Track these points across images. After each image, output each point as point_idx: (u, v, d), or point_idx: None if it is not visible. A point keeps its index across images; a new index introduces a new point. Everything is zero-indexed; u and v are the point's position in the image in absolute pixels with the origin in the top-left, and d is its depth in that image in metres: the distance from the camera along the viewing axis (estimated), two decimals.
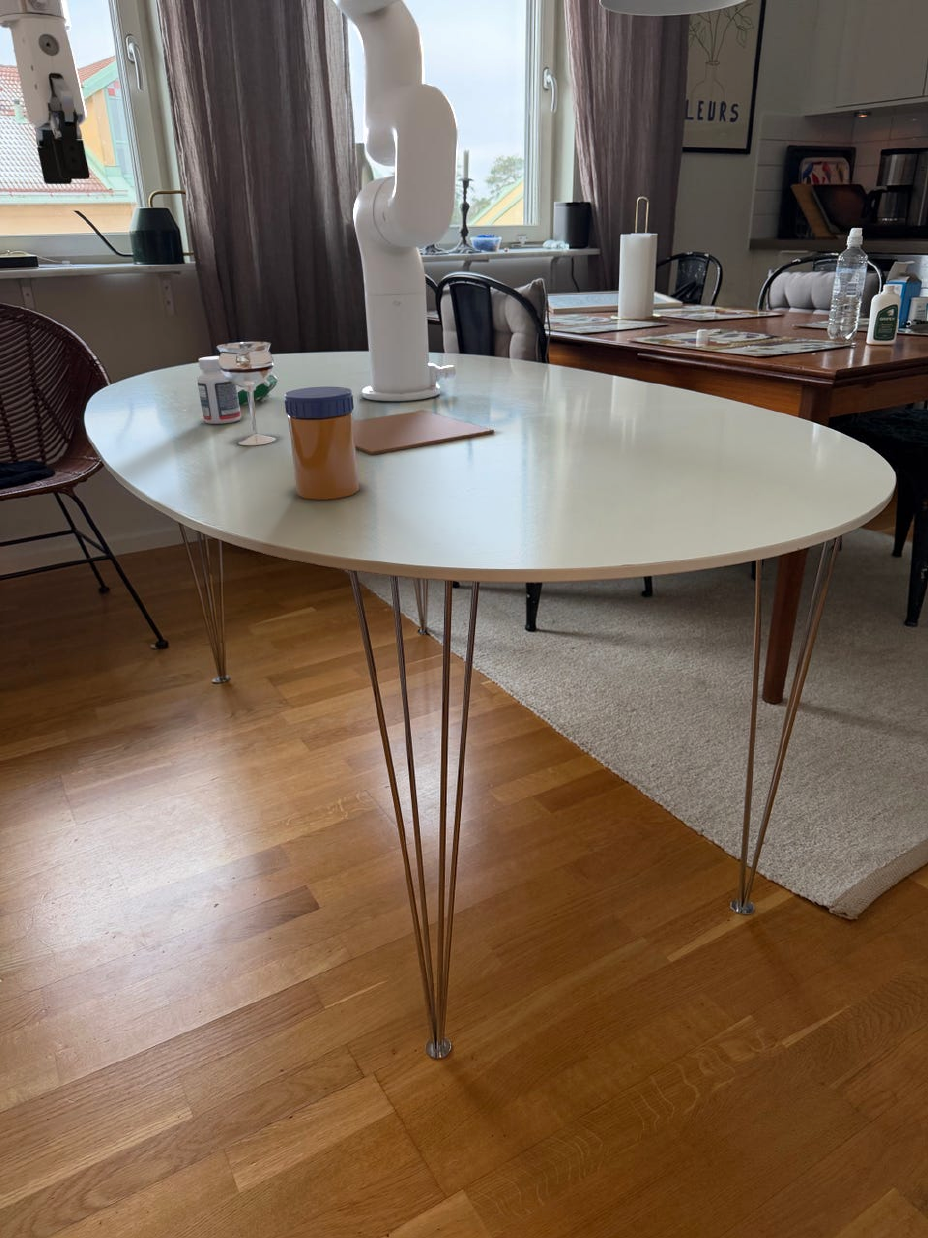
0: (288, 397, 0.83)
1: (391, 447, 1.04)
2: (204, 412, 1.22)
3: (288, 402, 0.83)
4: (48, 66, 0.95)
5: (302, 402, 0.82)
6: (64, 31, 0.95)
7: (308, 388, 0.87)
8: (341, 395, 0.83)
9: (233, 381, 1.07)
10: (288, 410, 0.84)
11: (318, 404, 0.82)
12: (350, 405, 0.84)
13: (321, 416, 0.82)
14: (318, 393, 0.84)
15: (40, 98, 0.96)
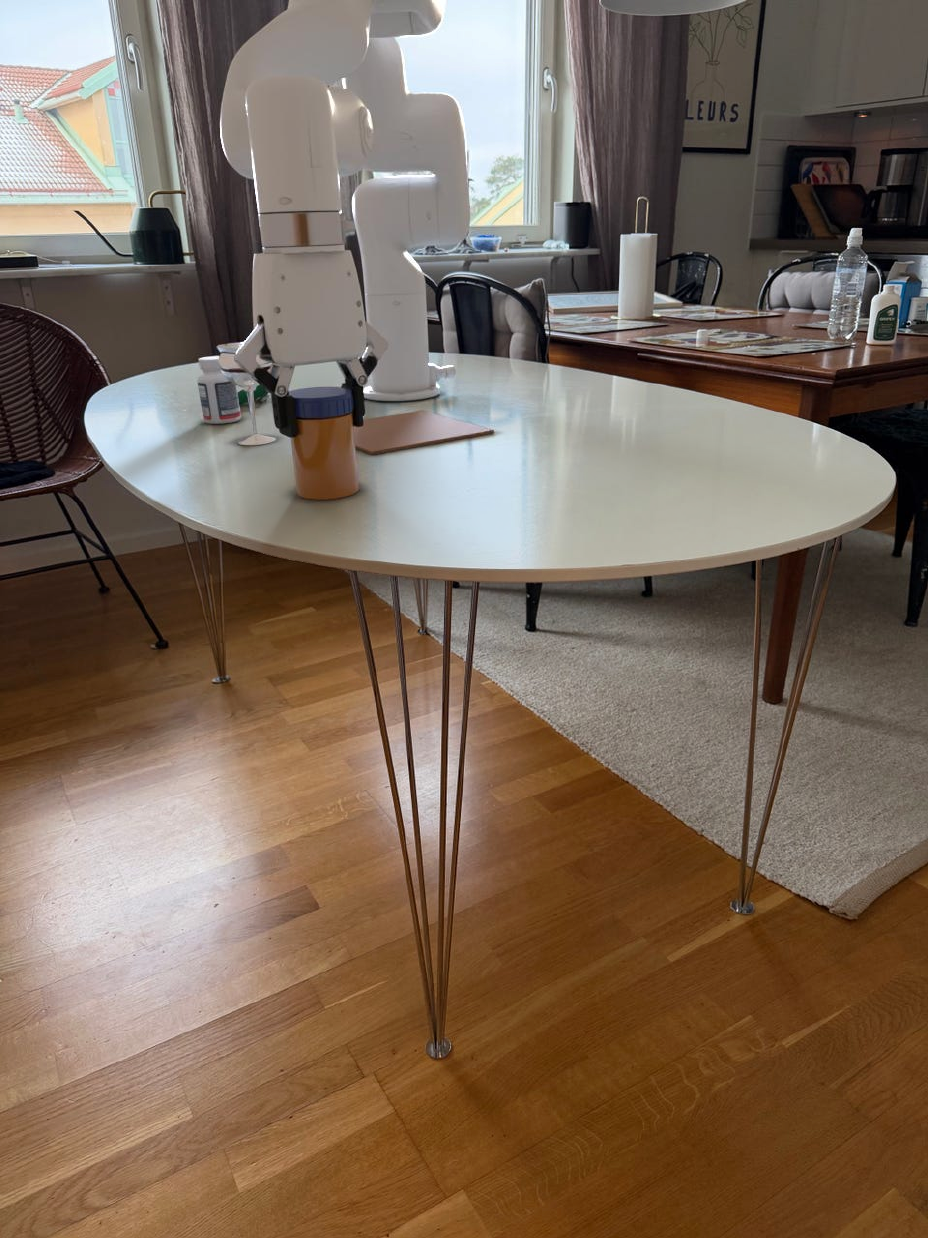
0: None
1: (391, 447, 1.04)
2: (204, 412, 1.22)
3: None
4: None
5: (302, 402, 0.82)
6: None
7: (308, 388, 0.87)
8: (341, 395, 0.83)
9: (233, 381, 1.07)
10: None
11: (318, 404, 0.82)
12: (350, 405, 0.84)
13: (321, 416, 0.82)
14: (318, 393, 0.84)
15: (364, 335, 0.83)
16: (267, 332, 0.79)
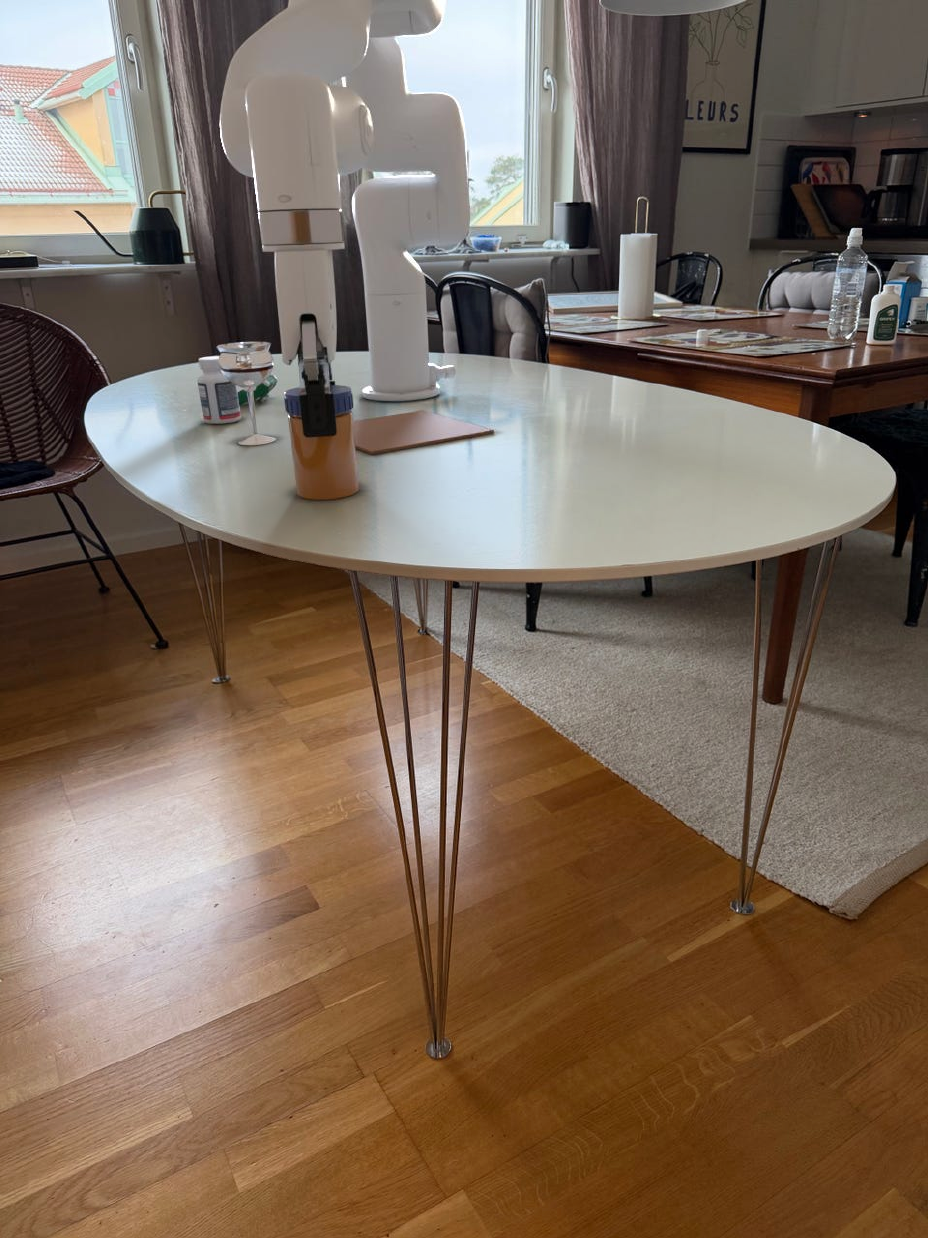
0: None
1: (391, 447, 1.04)
2: (204, 412, 1.22)
3: None
4: None
5: (338, 398, 0.82)
6: None
7: (290, 391, 0.84)
8: (348, 387, 0.86)
9: (233, 381, 1.07)
10: None
11: (348, 398, 0.84)
12: None
13: (350, 409, 0.84)
14: None
15: None
16: (323, 329, 0.78)
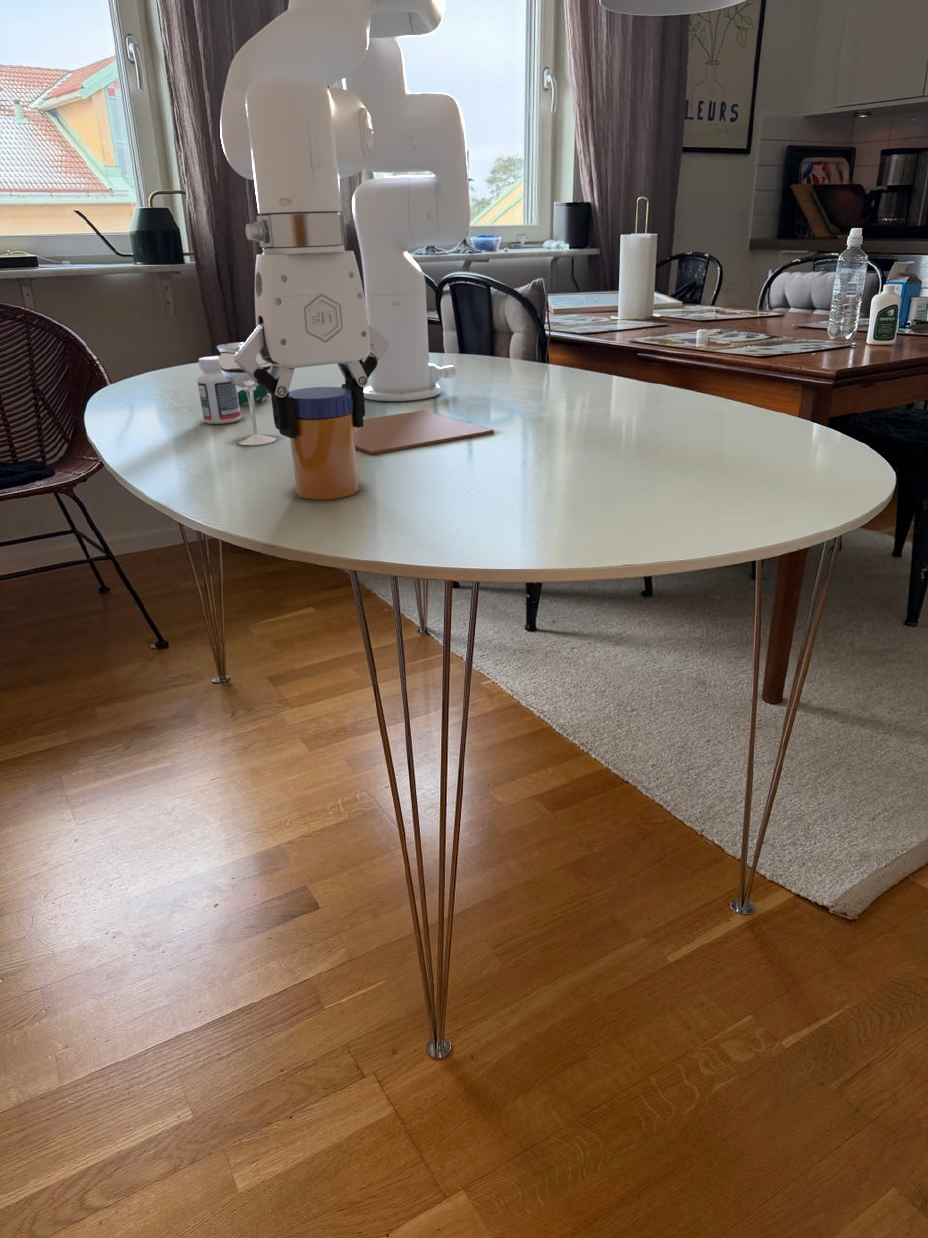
0: (347, 389, 0.86)
1: (391, 447, 1.04)
2: (204, 412, 1.22)
3: None
4: (257, 308, 0.79)
5: None
6: (269, 267, 0.76)
7: (328, 396, 0.82)
8: (296, 390, 0.86)
9: (233, 381, 1.07)
10: None
11: None
12: None
13: None
14: (318, 391, 0.85)
15: None
16: None
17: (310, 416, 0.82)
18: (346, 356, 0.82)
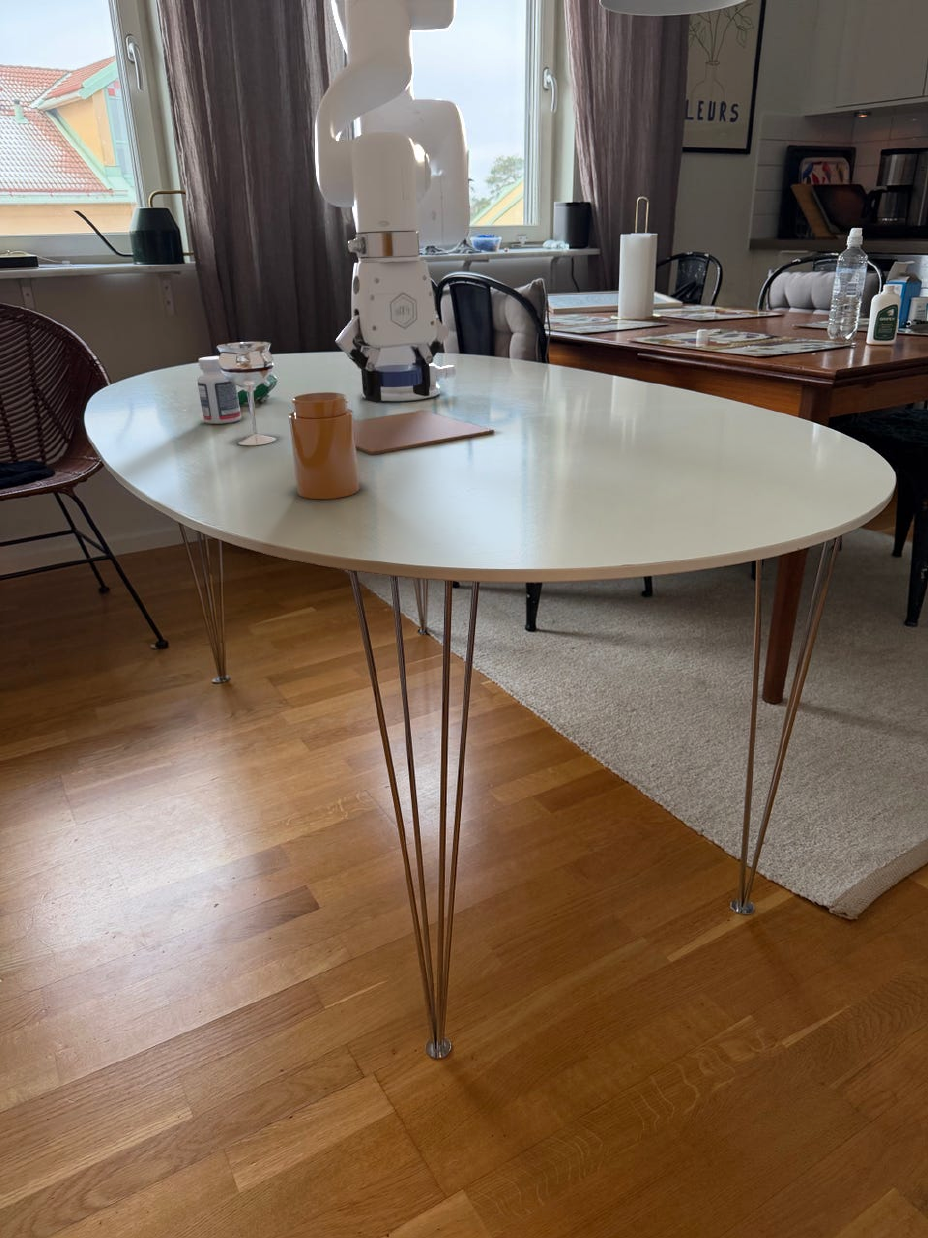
0: (416, 366, 1.12)
1: (391, 447, 1.04)
2: (204, 412, 1.22)
3: None
4: (354, 303, 1.05)
5: None
6: (366, 272, 1.02)
7: (405, 370, 1.08)
8: (377, 367, 1.12)
9: (233, 381, 1.07)
10: None
11: None
12: None
13: None
14: (395, 367, 1.11)
15: None
16: None
17: (391, 385, 1.08)
18: (419, 340, 1.08)
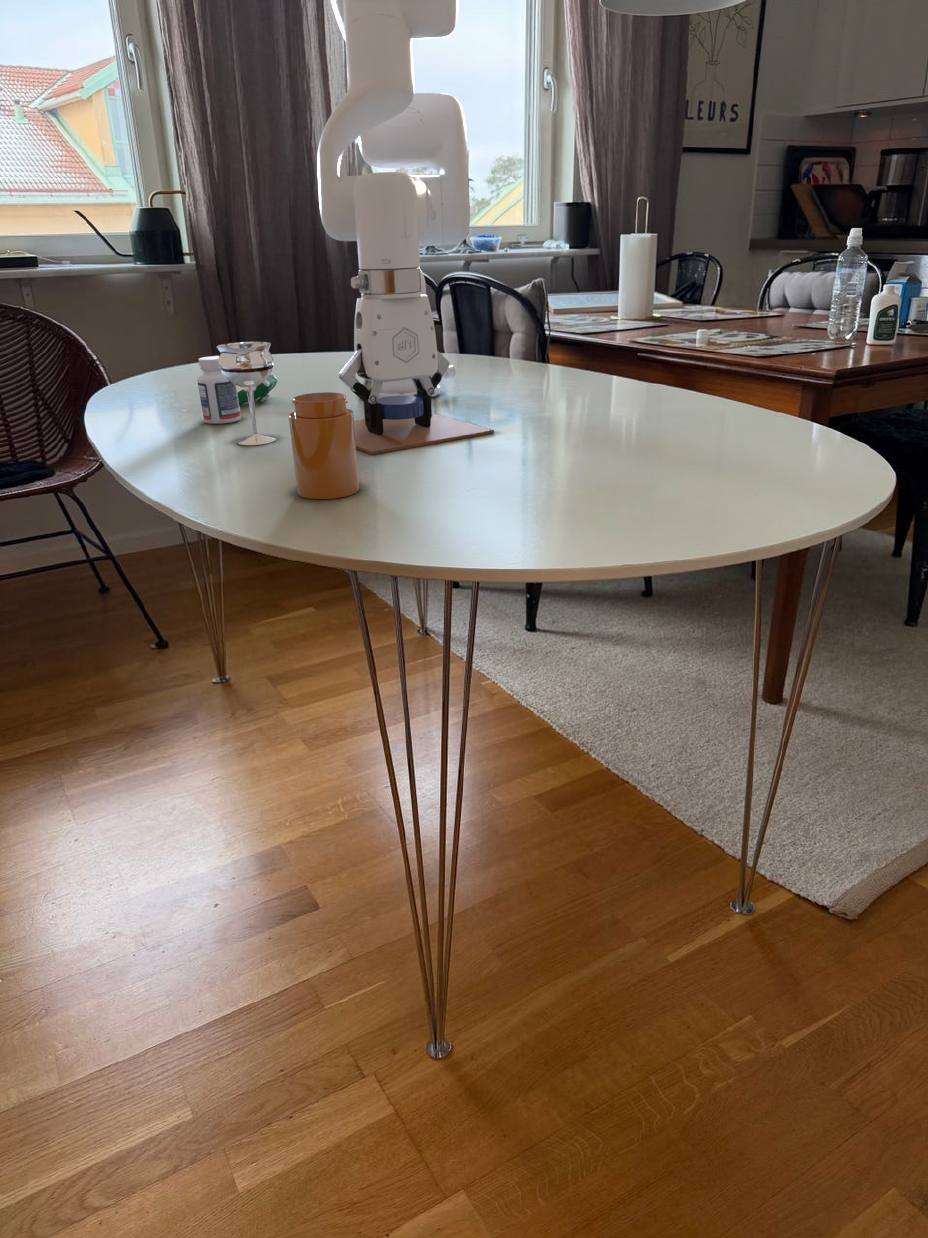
0: (418, 397, 1.14)
1: (391, 447, 1.04)
2: (204, 412, 1.22)
3: None
4: (357, 338, 1.07)
5: None
6: (369, 308, 1.03)
7: (407, 403, 1.10)
8: (379, 398, 1.14)
9: (233, 381, 1.07)
10: None
11: None
12: None
13: None
14: (397, 398, 1.13)
15: None
16: None
17: (393, 417, 1.10)
18: (421, 373, 1.09)
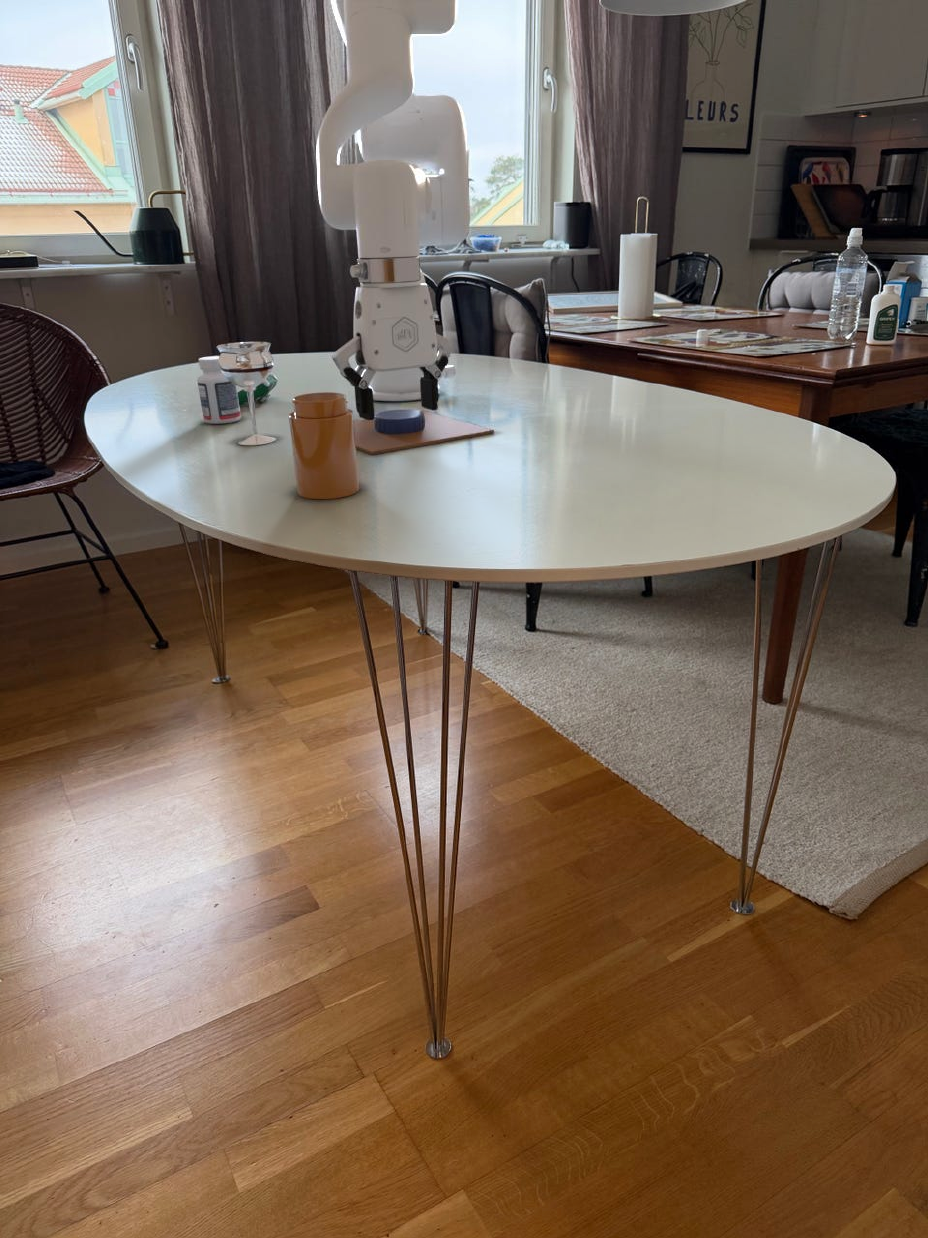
0: (419, 411, 1.15)
1: (391, 447, 1.04)
2: (204, 412, 1.22)
3: None
4: (356, 327, 1.06)
5: None
6: (368, 297, 1.03)
7: (408, 417, 1.11)
8: (381, 412, 1.15)
9: (233, 381, 1.07)
10: None
11: None
12: None
13: None
14: (398, 413, 1.14)
15: None
16: None
17: (395, 432, 1.11)
18: (420, 362, 1.09)
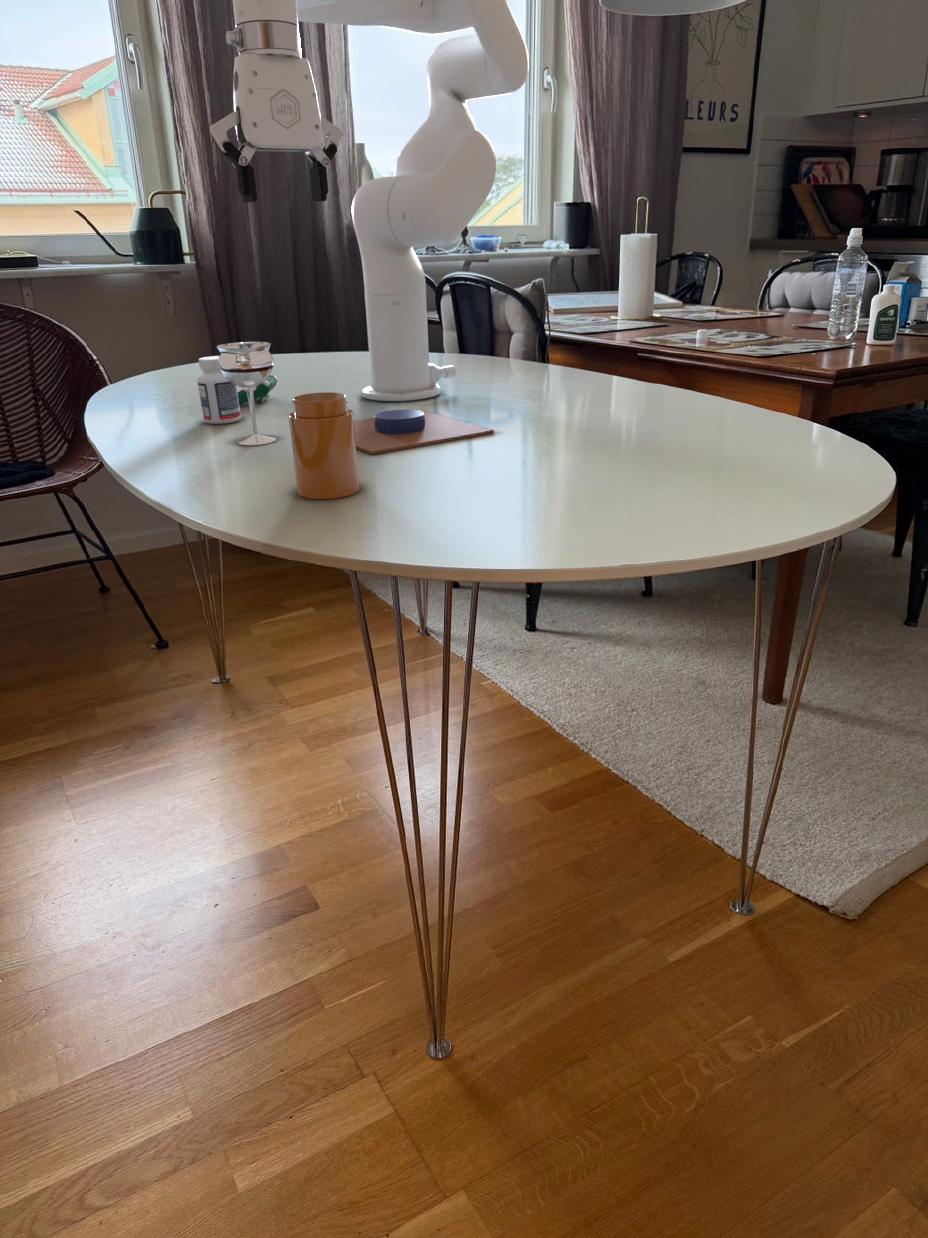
0: (419, 411, 1.15)
1: (391, 447, 1.04)
2: (204, 412, 1.22)
3: None
4: (235, 101, 1.05)
5: None
6: (244, 64, 1.02)
7: (408, 417, 1.11)
8: (381, 412, 1.15)
9: (233, 381, 1.07)
10: None
11: None
12: None
13: None
14: (398, 413, 1.14)
15: None
16: None
17: (395, 432, 1.11)
18: (303, 143, 1.08)
